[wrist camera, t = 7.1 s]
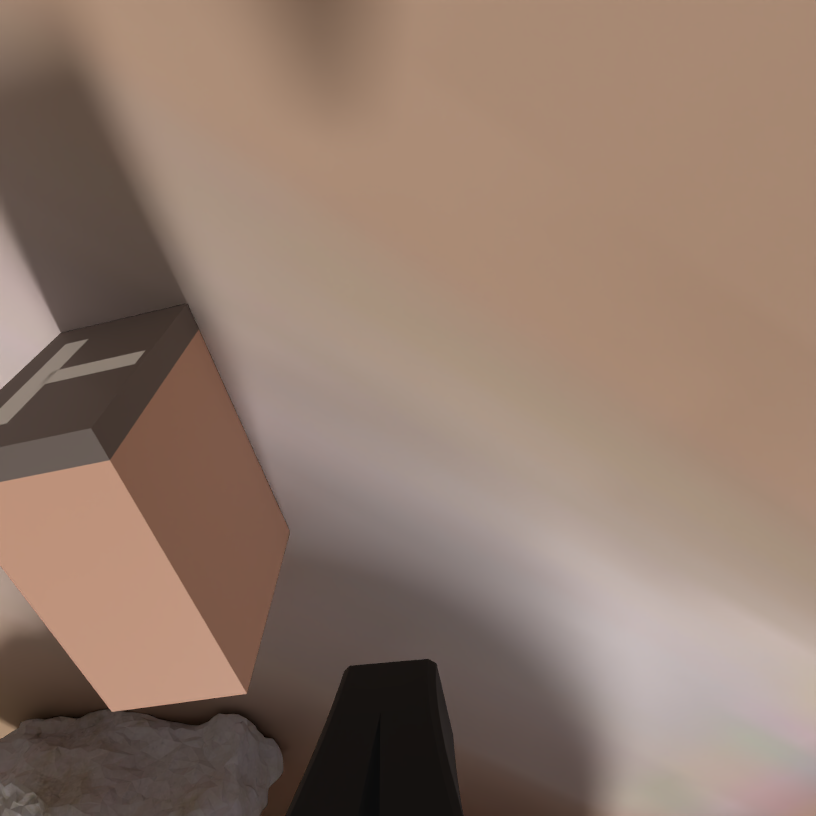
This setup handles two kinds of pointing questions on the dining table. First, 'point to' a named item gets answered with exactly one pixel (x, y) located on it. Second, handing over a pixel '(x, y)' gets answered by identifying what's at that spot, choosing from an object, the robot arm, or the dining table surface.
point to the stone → (136, 767)
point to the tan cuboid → (138, 511)
